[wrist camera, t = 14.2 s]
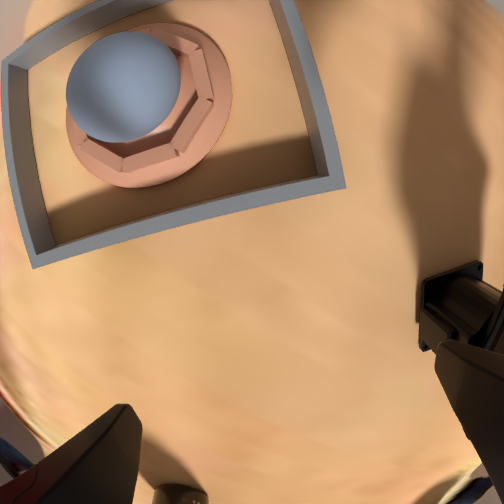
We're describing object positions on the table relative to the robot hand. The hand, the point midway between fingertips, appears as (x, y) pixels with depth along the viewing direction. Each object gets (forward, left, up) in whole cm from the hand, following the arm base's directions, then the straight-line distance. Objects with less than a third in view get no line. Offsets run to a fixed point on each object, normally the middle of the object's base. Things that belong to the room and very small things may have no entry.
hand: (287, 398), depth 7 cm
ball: (+5, -12, -8) cm, 15 cm away
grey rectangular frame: (+5, -12, -12) cm, 17 cm away
